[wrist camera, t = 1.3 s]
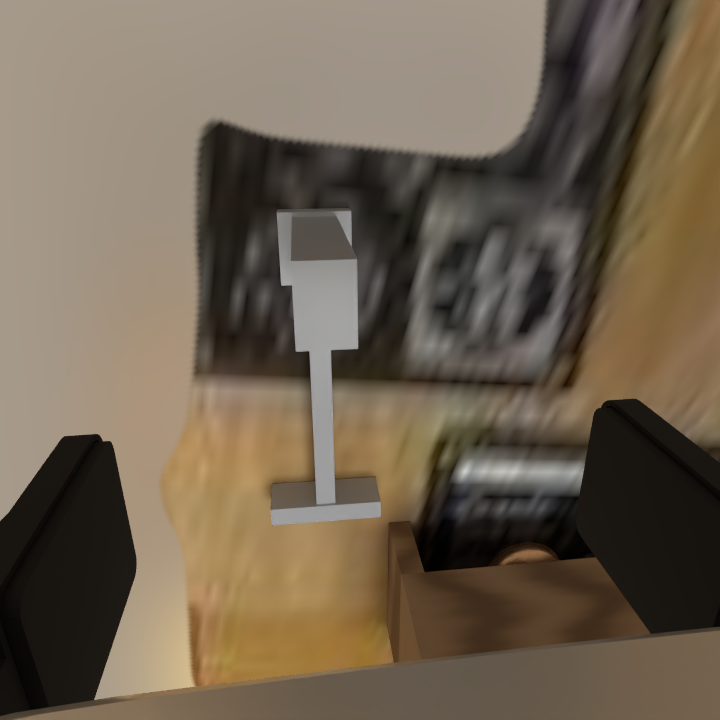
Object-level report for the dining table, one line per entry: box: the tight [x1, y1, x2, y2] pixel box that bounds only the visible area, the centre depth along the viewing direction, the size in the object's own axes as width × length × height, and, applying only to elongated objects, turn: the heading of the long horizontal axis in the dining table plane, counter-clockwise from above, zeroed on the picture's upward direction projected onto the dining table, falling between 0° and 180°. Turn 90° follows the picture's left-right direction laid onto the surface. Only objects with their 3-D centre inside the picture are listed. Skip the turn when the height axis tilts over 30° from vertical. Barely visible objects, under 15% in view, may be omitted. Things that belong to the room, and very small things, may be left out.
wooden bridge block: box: [387, 521, 651, 663], centre depth 37 cm, size 21×11×12 cm, turn 90°
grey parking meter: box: [271, 208, 381, 525], centre depth 29 cm, size 7×19×12 cm, turn 0°
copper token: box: [487, 542, 560, 567], centre depth 43 cm, size 6×6×2 cm
